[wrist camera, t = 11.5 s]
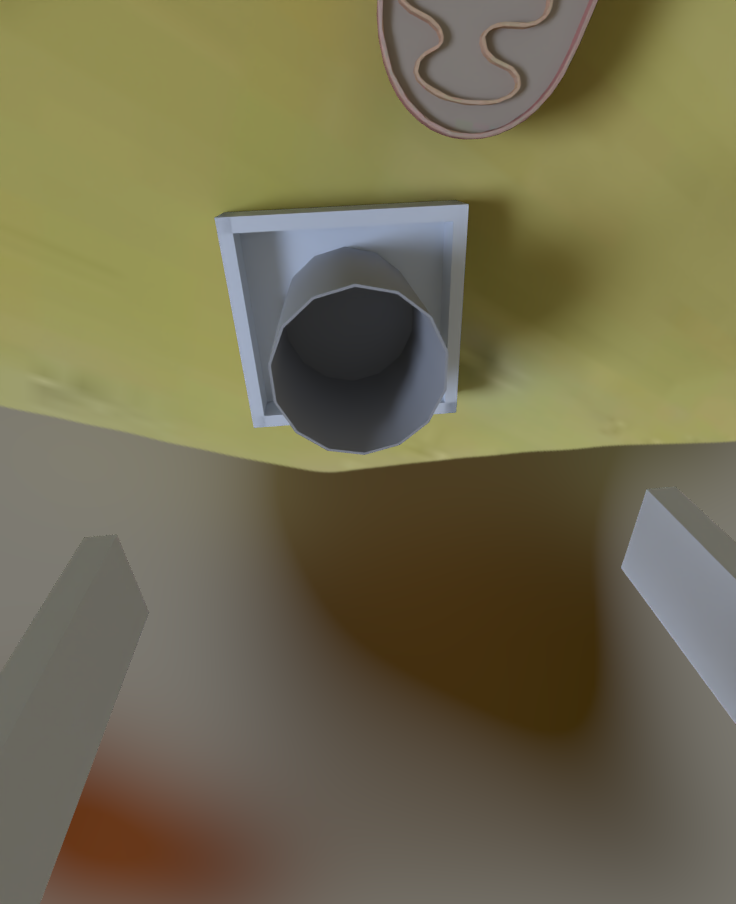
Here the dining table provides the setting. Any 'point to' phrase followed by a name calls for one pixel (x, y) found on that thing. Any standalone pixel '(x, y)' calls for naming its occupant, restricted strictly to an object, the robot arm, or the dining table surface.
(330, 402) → the cup
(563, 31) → the mitochondrion model
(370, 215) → the grey tray
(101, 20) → the dining table surface
